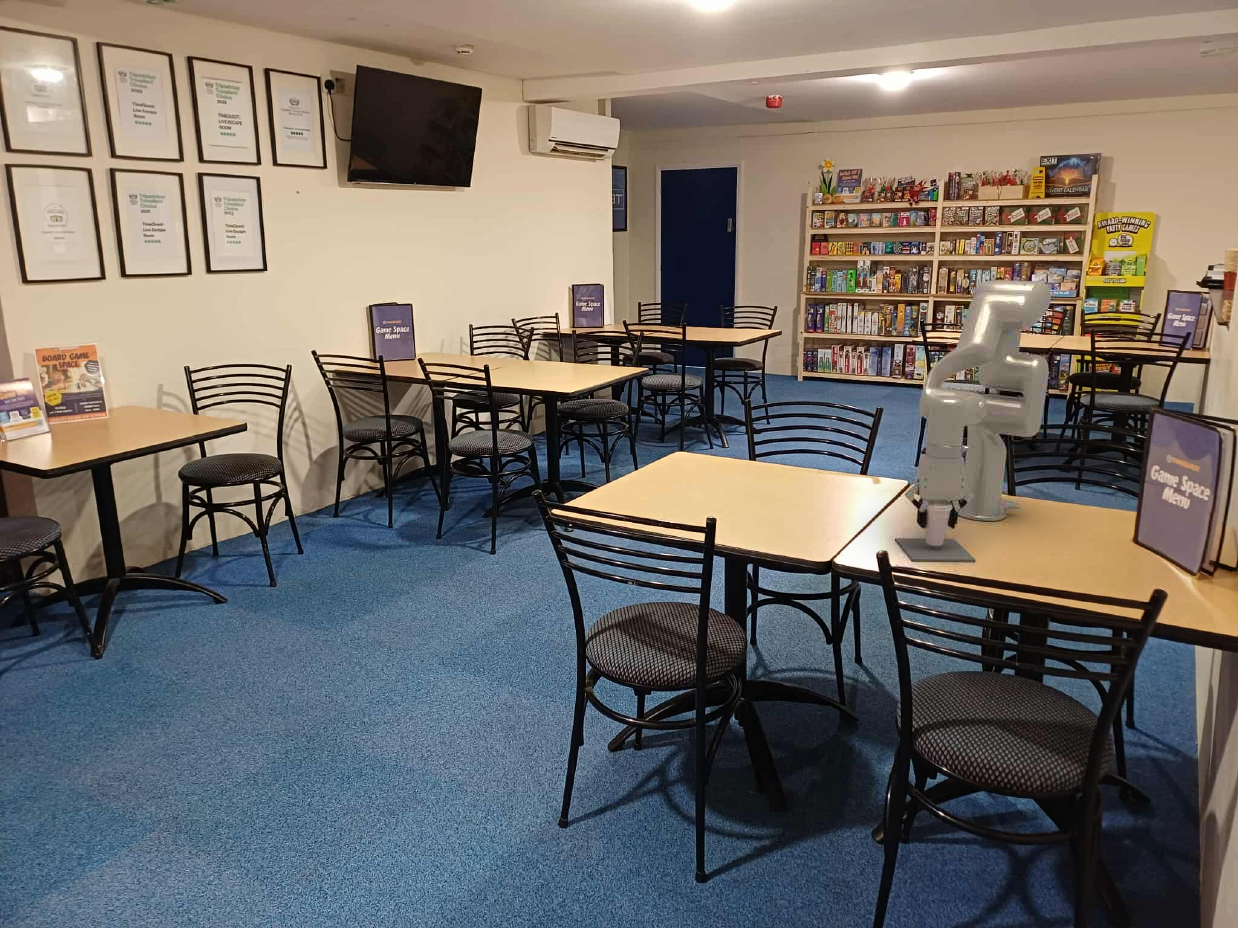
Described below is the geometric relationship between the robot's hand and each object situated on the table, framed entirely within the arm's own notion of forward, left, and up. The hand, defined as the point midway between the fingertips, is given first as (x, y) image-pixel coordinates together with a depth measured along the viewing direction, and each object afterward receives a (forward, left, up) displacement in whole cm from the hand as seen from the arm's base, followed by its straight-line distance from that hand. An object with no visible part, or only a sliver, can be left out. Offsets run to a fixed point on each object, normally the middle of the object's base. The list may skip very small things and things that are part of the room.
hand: (936, 526), depth 198 cm
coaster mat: (0, 0, -6) cm, 6 cm away
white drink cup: (0, 0, -4) cm, 4 cm away
